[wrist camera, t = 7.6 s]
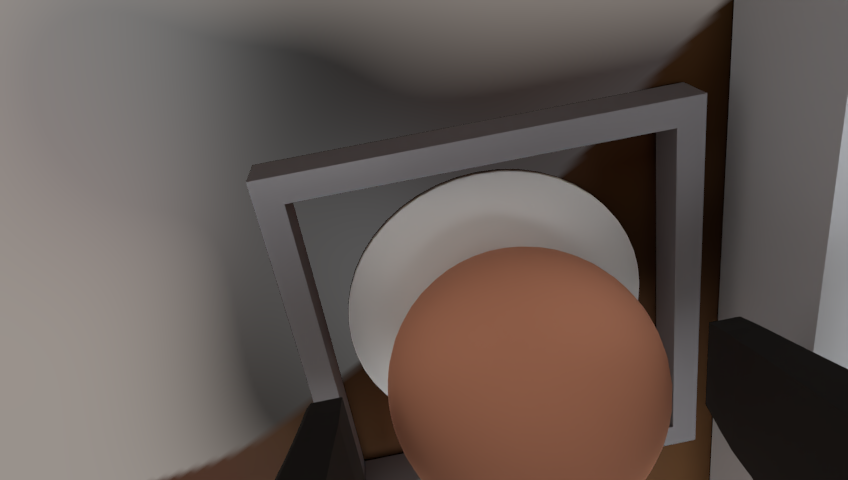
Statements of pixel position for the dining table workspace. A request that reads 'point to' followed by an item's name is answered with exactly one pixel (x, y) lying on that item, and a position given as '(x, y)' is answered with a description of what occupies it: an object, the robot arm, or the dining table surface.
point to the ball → (529, 373)
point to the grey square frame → (492, 229)
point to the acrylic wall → (786, 182)
